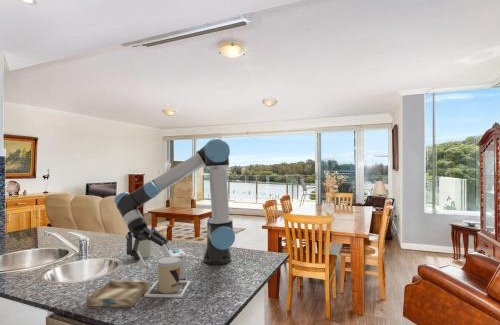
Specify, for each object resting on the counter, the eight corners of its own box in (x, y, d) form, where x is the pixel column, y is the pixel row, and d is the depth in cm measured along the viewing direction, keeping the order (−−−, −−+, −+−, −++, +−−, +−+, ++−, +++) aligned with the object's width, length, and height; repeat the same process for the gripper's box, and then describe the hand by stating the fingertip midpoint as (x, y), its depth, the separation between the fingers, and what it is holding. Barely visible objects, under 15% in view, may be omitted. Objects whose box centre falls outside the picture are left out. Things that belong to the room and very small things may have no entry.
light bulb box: (167, 272, 136) (167, 250, 136) (181, 270, 138) (182, 248, 138) (170, 281, 126) (171, 256, 126) (185, 278, 128) (186, 254, 129)
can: (152, 252, 167) (152, 232, 168) (151, 257, 159) (152, 235, 159) (135, 254, 164) (135, 233, 165) (134, 258, 156) (134, 236, 156)
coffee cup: (174, 295, 111) (174, 264, 112) (152, 293, 113) (152, 262, 114) (184, 285, 121) (184, 257, 121) (163, 283, 122) (164, 255, 123)
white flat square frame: (190, 282, 124) (190, 280, 124) (181, 297, 109) (181, 295, 109) (157, 281, 124) (157, 280, 124) (144, 296, 110) (144, 294, 110)
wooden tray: (148, 287, 118) (148, 281, 118) (131, 307, 101) (131, 299, 102) (109, 286, 119) (109, 280, 119) (85, 306, 102) (85, 299, 102)
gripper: (153, 223, 140) (174, 259, 131) (105, 232, 118) (126, 276, 110) (161, 213, 137) (183, 249, 129) (113, 221, 116) (135, 265, 107)
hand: (157, 262), depth 119 cm, fingers open, 13 cm apart
